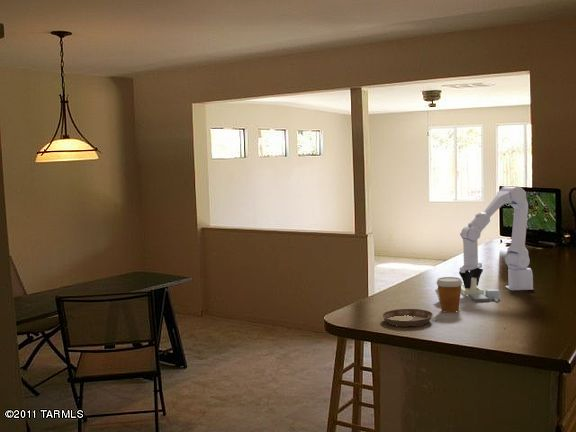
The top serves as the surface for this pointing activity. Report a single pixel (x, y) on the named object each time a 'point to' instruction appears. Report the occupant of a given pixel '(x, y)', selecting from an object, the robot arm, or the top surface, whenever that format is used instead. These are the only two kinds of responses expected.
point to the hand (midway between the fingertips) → (471, 287)
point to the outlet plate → (466, 292)
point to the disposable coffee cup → (449, 293)
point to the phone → (478, 298)
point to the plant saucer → (418, 320)
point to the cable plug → (492, 294)
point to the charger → (473, 284)
